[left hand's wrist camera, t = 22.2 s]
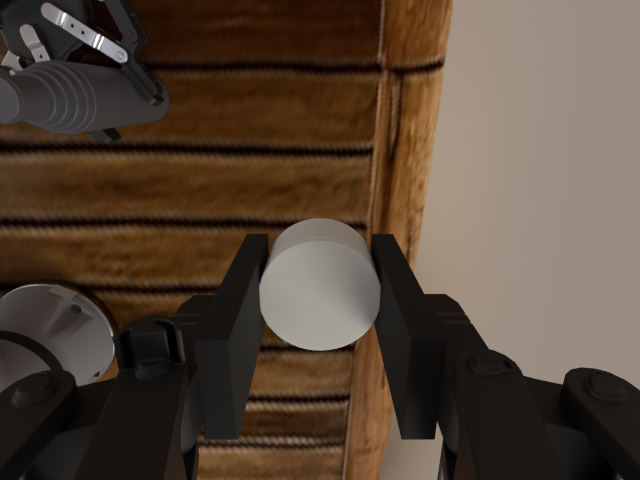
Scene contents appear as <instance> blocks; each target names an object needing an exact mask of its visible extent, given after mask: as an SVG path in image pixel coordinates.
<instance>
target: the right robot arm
mask: <svg viewBox="0 0 640 480" xmlns="http://www.w3.org/2000/svg"><path fill="white" fill-rule="evenodd" d="M99 1H101V2H103V3H105V4H106V6H107V8H108V10H109V12H110V13H111V15H112V17H113V19H114V21H115V23H116V25H117V26H118V28H119V30H120V32H121V34H122V36H123V38H122V40H121V42H120V41H119V40H118V39H117V38H115V37H114V36H112V35H111V34H109V33H108V32H106V31H105V30H103V29H101V28H100V27H98V26H97V25H96V23H95V17H94V12H93V6H92V1H91V0H0V34H1V35H2V37H3V40H4V43H5V45H6V47H7V48H8V50H9V51H8V53H7V54H6V56H5V58H4V60H3V62H2V64H1V65H0V74H2V75H14V74H16V73H18V72H20V71H21V70H23V69H25V68H27V65H26V59H27V60H30V61H33V62H40V61H47V60H59V61H67V62H74V63H80V61H81V59H82V57H83V55H85V54H87V53H89V52H91V51H92V50H93V49H97V50H99V51H101V52H103V53H104V54H106V55H107V56H109V57H110V58H112V59H114V60H115V61H117V62H118V63H120V64H121V66H122V68H121V69H120V70H121V71H122V72H123V73H124V75H125V76H126V77H127V78H128V79H129V80H130V82H131V83H132V84H133V85H134V87H135V88H136V89H137V90H138V91H139V93H140V94H141V95H142V96H143V97H144V99H145V100H146V101H147V102H148V103H149V104H150V105H151V106H159V105H160V104H161V103H163V102H164V99H163V97H162V96H161V94H162V93H163V89H162V87H161V85H160V84H159V83H158V81H157V80H156V79H155V78H154V77H153V75H152V74H151V73H150V72H149V70H148V69H147V68H146V67H145V65H144V64H143V63H142V61H141V58H140V54H141V51H142V49H143V47H144V46H146V45H147V44H148V43H149V37H148V35H147V33H146V31H145V29H144V27H143V25H142V23H141V21H140V19H139V17H138V15H137V14H136V12H135V10H134V8H133V6H132V4H131V2H130V0H99ZM88 133H90V135H91V136H92V137H93V138H94V139H95V140H97V141H99V142H105V143H106V144H112V143H116V142H117V141H118V140H119V139H120V138H121V135H120V134H119V133H118V132H117V131H116V129H115V128H108V129H102V130H95V131H89V132H88Z"/></svg>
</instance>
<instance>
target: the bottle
mask: <svg viewBox="0 0 640 480" xmlns="http://www.w3.org/2000/svg"><path fill="white" fill-rule="evenodd" d="M152 75H153V74H152ZM153 77H154V78H155V79H156V80H157V81H158V83H159V84H160V85H161V87H162V89H163V93H162V94H161V96H162V97H163V99H164V102H163V103H161V104H160V105H159V106H151V105H150V104H149V103H148V102H147V101H146V100H145V99H144V97H143V96H142V95H141V94H140V93H139V91H138V90H137V89H136V88H135V87H134V85H133V84H132V83H131V82H130V80H129V79H128V78H127V77H126V76H125V75H124V73H123V72H122V71H121V70H120V69H118V68H111V67H104V66H96V65H89V64H81V63H74V62H67V61H59V60H47V61H40V62H36V63H34V64H32V65H30V66H29V67H27V68H25V69H23V70H21V71H20V72H18V73H16V74H14V75H2V74H0V123H2V124H12V123H15V122H19V121H25V122H28V123H31V124H33V125H35V126H38V127H40V128H43V129H45V130H48V131H50V132H54V133H62V134H76V133H83V132H89V131H95V130H102V129H108V128H115V127H121V126H128V125H134V124H140V123H147V122H153V121H157V120H159V119H160V118H162V117H163V116H164V115H165V113H166V112H167V109H168V106H169V95H168V92H167V89H166V87H165V85H164V84H163V83H162V81H161V80H160V79H159V78H157V77H156V76H154V75H153Z"/></svg>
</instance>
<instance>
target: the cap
mask: <svg viewBox="0 0 640 480" xmlns="http://www.w3.org/2000/svg"><path fill="white" fill-rule="evenodd" d="M380 289H381V286H380V281H379V278H378V275H377V272H376V268H375V265H374V262H373V259H372V255H371V252H370V249H369V247H368V245H367V244H366V242H365V241H364V239H363V238H362V237H361V236H360V235H359V233H357V232H356V231H355V230H354V229H353V228H351V227H349V226H348V225H346V224H344V223H342V222H339V221H336V220H332V219H324V218H316V219H309V220H304V221H301V222H299V223H296V224H294V225H292V226H291V227H289V228H288V229H286V230H285V231H284V232H283V233H282V234H281V235H280V236H279V237H278V238H277V239H276V241H275V243H274V244H273V246H272V248H271V250H270V253H269V256H268V259H267V262H266V265H265V268H264V271H263V274H262V277H261V280H260V284H259V292H260V308H261V313H262V315H263V317H264V320H265V321H266V323H267V324H268V326H269V327H270V328H271V329H272V330H273V332H275V333H276V334H277V335H278V336H279V337H280V338H282V339H283V340H285V341H287V342H288V343H290V344H292V345H295V346H297V347H301V348H304V349H310V350H330V349H336V348H339V347H343V346H345V345H347V344H350V343H352V342H353V341H355V340H357V339H358V338H359V337H361V336H362V335H363V334H364V333H365V332H366V331H367V330H368V329H369V328H370V327H371V325H372V324H373V322H374V321H375V319H376V317H377V315H378V312H379V307H380Z"/></svg>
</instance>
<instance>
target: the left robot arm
mask: <svg viewBox="0 0 640 480" xmlns="http://www.w3.org/2000/svg"><path fill="white" fill-rule="evenodd" d="M371 255H372V259H373V262H374V265H375V268H376V272H377V275H378V278H379V281H380V286H381V289H380V307H379V312H378V315H377V317H376V319H375V321H374V325H375V329H376V333H377V337H378V342H379V346H380V350H381V354H382V358H383V363H384V367H385V371H386V375H387V379H388V384H389V388H390V392H391V396H392V400H393V405H394V409H395V413H396V417H397V421H398V426H399V430H400V434H401V438H402V439H435V432H436V424H437V422H438V425H439V427H440V430H441V433H442V436H443V444H442V451H441V458H440V465H439V472H438V479H437V480H443V479H444V480H622V479H623V480H640V390H639V389H637V388H636V387H634V386H633V385H632V384H630V383H629V382H627V381H626V380H624V379H622V378H620V377H618V376H615V375H613V374H612V373H609V372H606V371H602V370H598V369H593V368H576V369H572V370H570V371H569V372H568V373H567V374H566V375H565V378H564V382H563V385H562V384H557V383H552V382H547V381H542V380H538V379H533V378H530V377H526V376H523V374H522V372H521V370H520V369H519V367H518V366H517V364H516V363H515V362H514V361H512V360H511V359H510V358H508V357H507V356H505V355H503V354H501V353H498V352H496V351H494V350H489V348H488V347H487V345H486V344H485V342H484V341H483V339H482V338H481V336H480V335H479V333H478V332H477V330H476V329H475V327H474V326H473V324H471V323H470V320H469V318H468V317H467V315H465V312H464V311H463V309H462V308H461V306H460V305H459V303H458V302H456V301H455V300H453V299H452V298H450V297H449V296H447V295H446V294H424V293H423V291H422V289H421V287H420V285H419V283H418V281H417V280H416V278H415V276H414V274H413V272H412V270H411V268H410V266H409V264H408V262H407V260H406V259H405V257H404V255H403V253H402V251H401V249H400V247H399V245H398V243H397V241H396V239H395V238H394V236H393V234H372V243H371ZM268 256H269V248H268V234H247V235H246V237H245V239H244V241H243V243H242V245H241V247H240V249H239V250H238V252H237V254H236V256H235V258H234V260H233V262H232V264H231V266H230V268H229V269H228V271H227V273H226V275H225V277H224V279H223V281H222V283H221V285H220V287H219V289H218V290H217V292H216V294H215V295H194V296H193V297H191V298H190V299H189V300H187V301H186V302H184V303H183V304H182V305H181V306H180V308H179V309H178V311H177V312H176V314H175V316H174V317H173V318H170V317H167V316H152V317H146V318H141V319H138V320H135V321H133V322H130V323H128V324H126V325H125V326H123V327H121V328H120V329H118V327H117V324H116V322H115V320H114V318H113V316H112V314H111V313H110V312H109V310H108V309H107V308H106V306H105V305H104V304H103V303H102V302H101V301H100V300H98V299H97V298H96V297H95V296H93V295H92V294H91V293H89V292H88V291H86V290H84V289H82V288H80V287H78V286H76V285H73V284H70V283H67V282H63V281H58V280H36V281H31V282H28V283H25V284H22V285H21V286H19V287H17V288H15V289H14V290H12V291H11V292H9V293H8V294H6V295H5V296H4V297H3V298H1V299H0V480H197V471H198V462H199V451H198V444H197V437H198V434H199V431H200V429H201V426H202V423H203V426H204V434H205V439H238V437H239V433H240V429H241V425H242V420H243V416H244V412H245V408H246V404H247V399H248V395H249V391H250V387H251V383H252V378H253V374H254V370H255V366H256V362H257V357H258V353H259V349H260V345H261V341H262V336H263V332H264V328H265V324H266V321H265V320H264V317H263V315H262V313H261V308H260V292H259V284H260V280H261V277H262V274H263V271H264V268H265V265H266V262H267V259H268ZM115 358H117V363H118V367H119V372H118V375H117V377H116V378H113V379H109V380H105V381H101V382H96V383H92V382H94V381H95V380H97V379H98V378H99V377H100V376H102V375H103V374H104V373H105V372H106V370H107V369H108V368H109V366H110V365H111V364H112V363H113V361H114V360H115Z"/></svg>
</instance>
